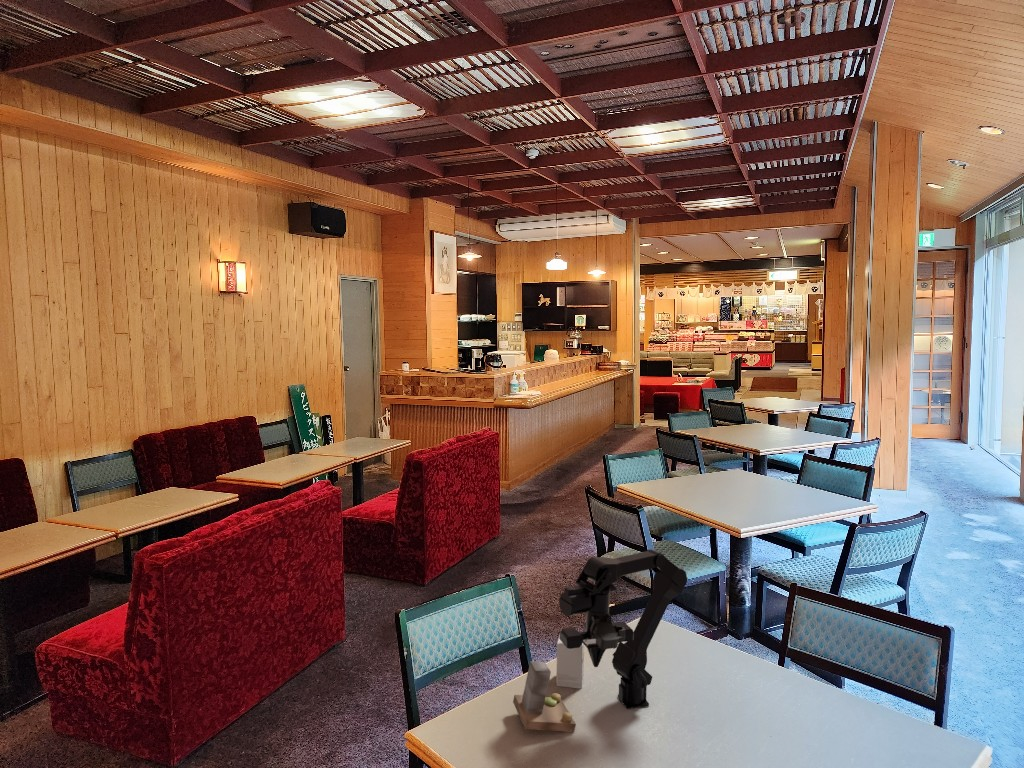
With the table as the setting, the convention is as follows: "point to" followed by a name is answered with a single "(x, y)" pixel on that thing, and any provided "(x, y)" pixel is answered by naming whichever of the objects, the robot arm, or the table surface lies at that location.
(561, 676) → the supplement box
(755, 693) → the table surface
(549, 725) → the wooden base with pillar
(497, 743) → the table surface
